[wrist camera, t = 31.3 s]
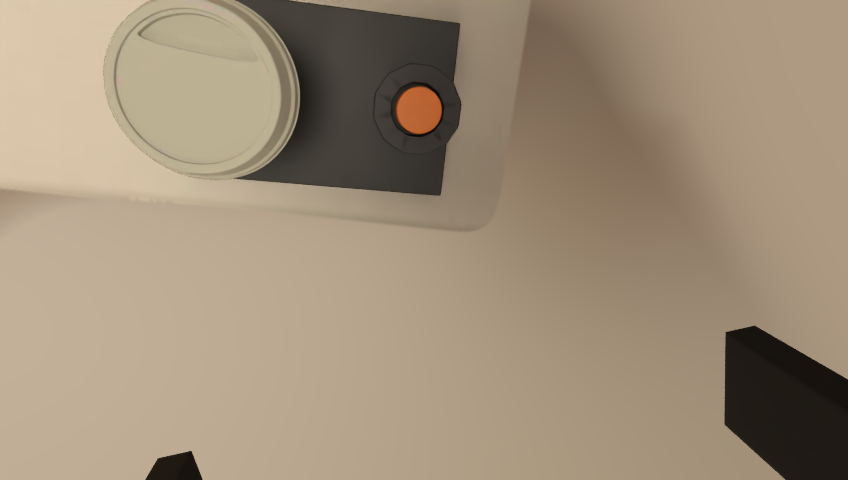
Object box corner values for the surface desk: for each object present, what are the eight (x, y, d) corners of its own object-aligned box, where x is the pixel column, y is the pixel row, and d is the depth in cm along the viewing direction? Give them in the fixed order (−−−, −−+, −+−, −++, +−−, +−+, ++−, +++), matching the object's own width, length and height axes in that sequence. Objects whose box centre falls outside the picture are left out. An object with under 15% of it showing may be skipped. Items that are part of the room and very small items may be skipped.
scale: (462, 27, 34) (471, 20, 31) (443, 192, 37) (450, 200, 34) (189, -10, 32) (171, -21, 29) (194, 172, 35) (178, 178, 32)
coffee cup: (345, 91, 33) (333, 86, 22) (265, 182, 34) (214, 223, 23) (244, -5, 31) (170, -68, 19) (162, 95, 32) (46, 92, 20)
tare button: (441, 89, 33) (444, 89, 31) (436, 134, 33) (439, 136, 32) (397, 84, 32) (398, 83, 31) (393, 130, 33) (394, 131, 31)
